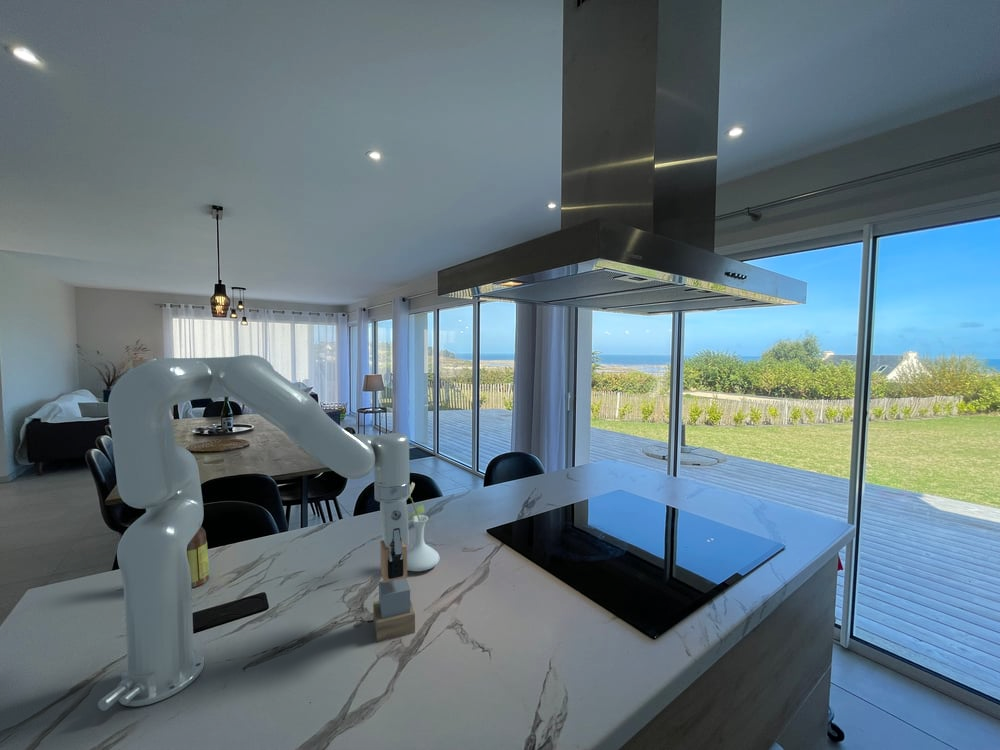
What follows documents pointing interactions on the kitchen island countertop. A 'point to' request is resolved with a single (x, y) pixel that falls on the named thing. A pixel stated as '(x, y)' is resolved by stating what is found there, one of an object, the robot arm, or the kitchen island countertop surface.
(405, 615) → the light brown wooden plinth
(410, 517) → the flower in vase
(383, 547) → the peach rectangular block
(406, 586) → the slate-grey cube
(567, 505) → the kitchen island countertop surface
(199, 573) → the sauce bottle
